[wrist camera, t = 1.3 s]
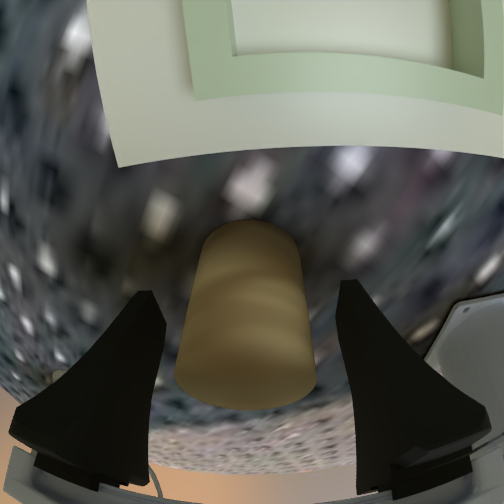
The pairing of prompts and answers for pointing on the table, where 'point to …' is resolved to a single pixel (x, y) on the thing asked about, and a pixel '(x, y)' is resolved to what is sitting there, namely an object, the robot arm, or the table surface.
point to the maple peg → (247, 321)
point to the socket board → (298, 75)
